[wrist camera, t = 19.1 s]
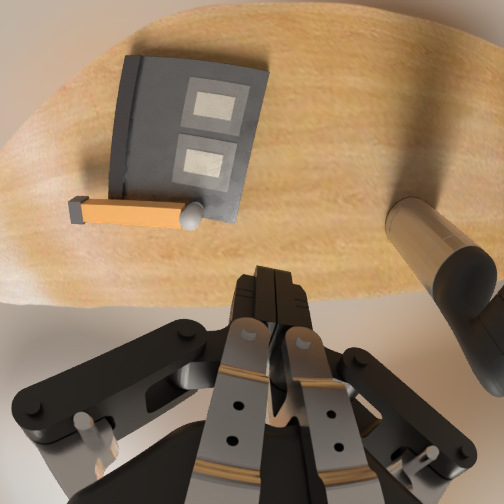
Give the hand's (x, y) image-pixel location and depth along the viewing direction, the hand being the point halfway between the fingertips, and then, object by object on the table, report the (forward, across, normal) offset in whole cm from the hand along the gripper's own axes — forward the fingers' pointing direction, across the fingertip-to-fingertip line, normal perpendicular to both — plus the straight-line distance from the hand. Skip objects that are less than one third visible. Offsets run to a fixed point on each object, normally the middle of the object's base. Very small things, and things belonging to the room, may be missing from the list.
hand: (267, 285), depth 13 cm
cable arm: (+28, +17, +10) cm, 34 cm away
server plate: (+32, +12, -1) cm, 34 cm away
